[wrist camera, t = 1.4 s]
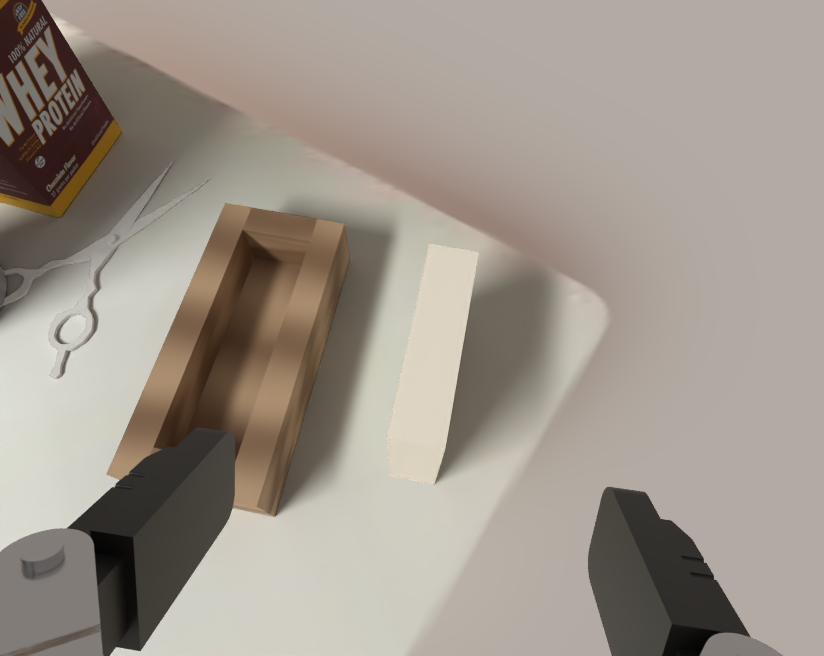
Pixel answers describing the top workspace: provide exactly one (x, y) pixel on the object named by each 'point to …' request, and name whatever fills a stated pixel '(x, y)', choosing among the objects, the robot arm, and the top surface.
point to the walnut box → (245, 347)
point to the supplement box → (46, 113)
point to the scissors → (92, 269)
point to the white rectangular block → (431, 365)
